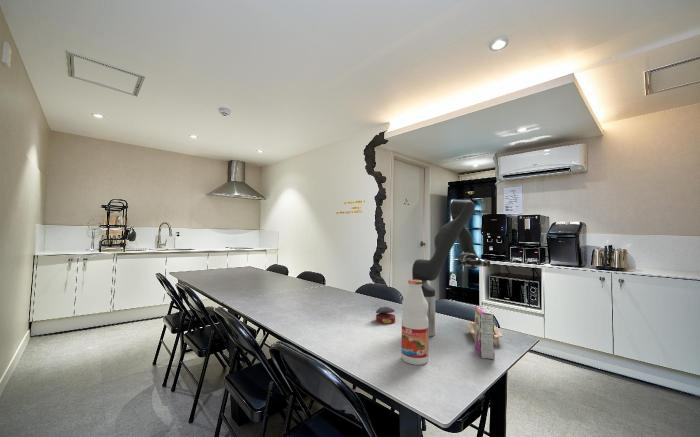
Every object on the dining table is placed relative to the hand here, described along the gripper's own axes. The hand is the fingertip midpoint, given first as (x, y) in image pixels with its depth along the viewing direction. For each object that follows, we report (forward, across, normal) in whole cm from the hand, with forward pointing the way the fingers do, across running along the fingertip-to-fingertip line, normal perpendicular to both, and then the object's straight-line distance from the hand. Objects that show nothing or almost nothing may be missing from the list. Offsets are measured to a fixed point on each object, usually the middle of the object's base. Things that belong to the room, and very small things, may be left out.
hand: (475, 263), depth 131 cm
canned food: (-6, -42, +32) cm, 53 cm away
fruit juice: (+36, -24, +32) cm, 54 cm away
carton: (+3, +3, +32) cm, 32 cm away
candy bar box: (+21, +1, +32) cm, 38 cm away
